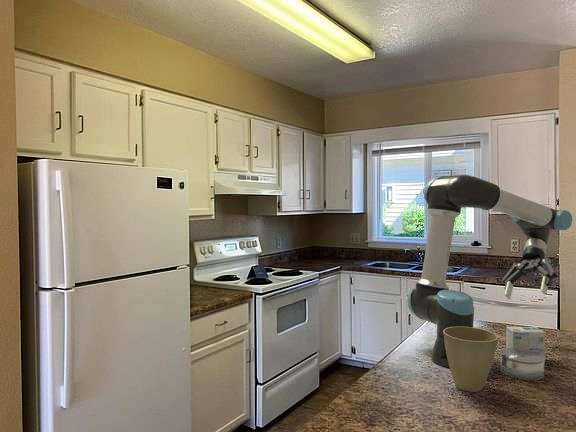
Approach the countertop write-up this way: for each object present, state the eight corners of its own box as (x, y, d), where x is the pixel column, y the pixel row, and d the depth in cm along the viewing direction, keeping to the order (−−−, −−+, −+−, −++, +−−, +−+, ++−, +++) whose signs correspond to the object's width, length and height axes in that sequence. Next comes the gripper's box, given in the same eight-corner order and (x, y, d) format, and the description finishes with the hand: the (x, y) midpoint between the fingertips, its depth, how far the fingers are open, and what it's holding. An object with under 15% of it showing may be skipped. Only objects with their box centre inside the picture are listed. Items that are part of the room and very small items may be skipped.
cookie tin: (512, 381, 136) (512, 361, 136) (491, 365, 149) (492, 347, 149) (554, 380, 136) (554, 361, 136) (530, 365, 149) (530, 347, 149)
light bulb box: (536, 356, 157) (537, 326, 157) (545, 363, 151) (546, 331, 150) (504, 355, 158) (505, 325, 158) (512, 362, 152) (513, 331, 151)
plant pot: (464, 400, 123) (464, 343, 122) (432, 379, 137) (433, 328, 136) (509, 394, 126) (510, 338, 126) (474, 374, 141) (474, 324, 140)
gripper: (572, 253, 167) (565, 297, 155) (509, 264, 187) (498, 304, 175) (562, 239, 165) (554, 283, 153) (499, 252, 185) (487, 292, 173)
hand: (524, 294), depth 164 cm, fingers open, 13 cm apart
